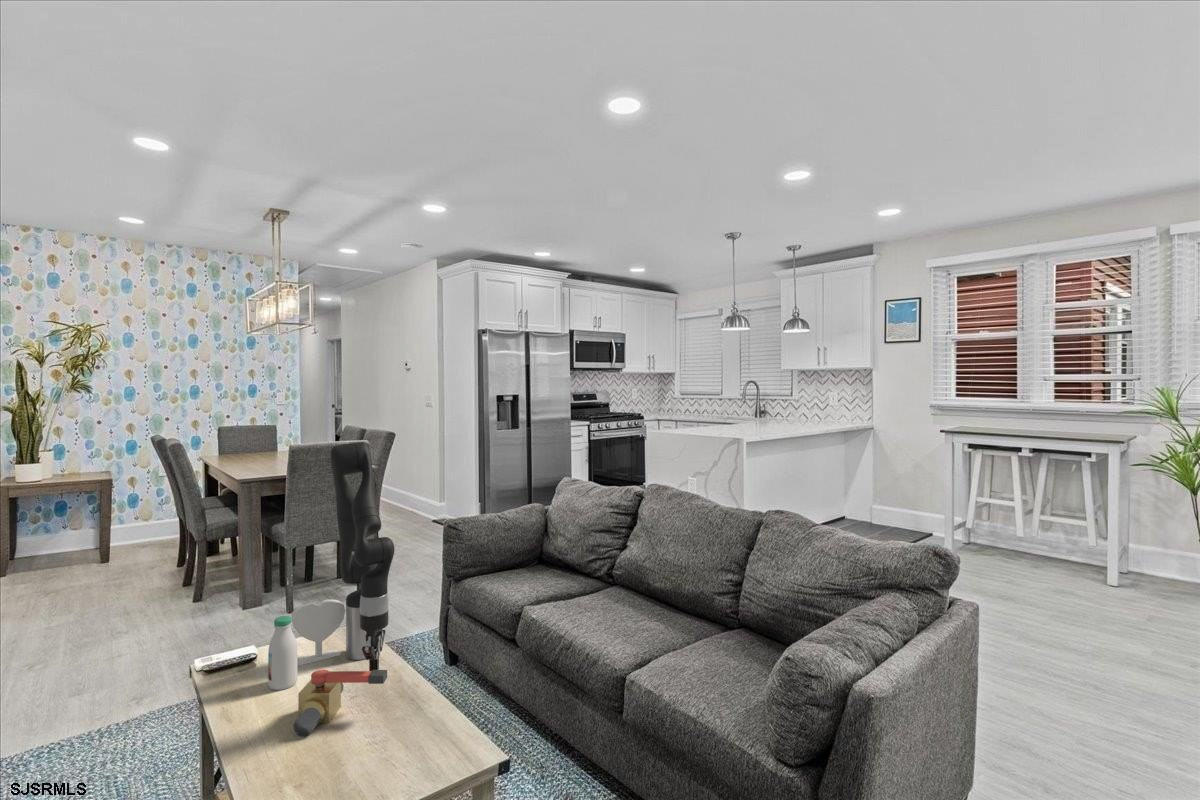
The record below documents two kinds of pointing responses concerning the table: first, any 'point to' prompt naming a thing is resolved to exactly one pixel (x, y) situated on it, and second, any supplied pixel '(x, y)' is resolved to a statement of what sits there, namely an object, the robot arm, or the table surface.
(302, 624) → the heart sculpture
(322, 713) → the valve body
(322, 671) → the lever
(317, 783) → the table surface
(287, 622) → the milk bottle
